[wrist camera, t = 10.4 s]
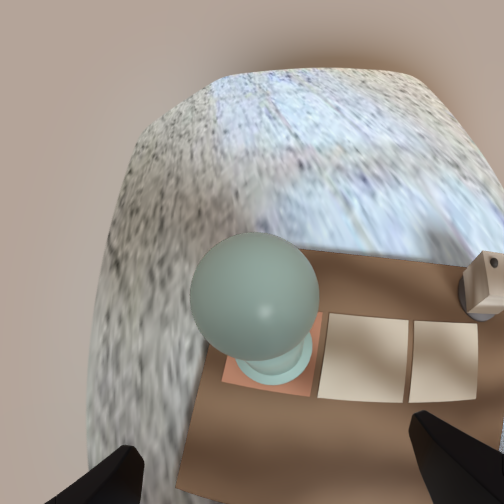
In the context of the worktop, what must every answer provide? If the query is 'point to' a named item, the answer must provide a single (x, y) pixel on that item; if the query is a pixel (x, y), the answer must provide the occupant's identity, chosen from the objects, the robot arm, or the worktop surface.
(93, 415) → the worktop surface
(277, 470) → the game board
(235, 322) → the pawn
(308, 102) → the worktop surface
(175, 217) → the worktop surface
